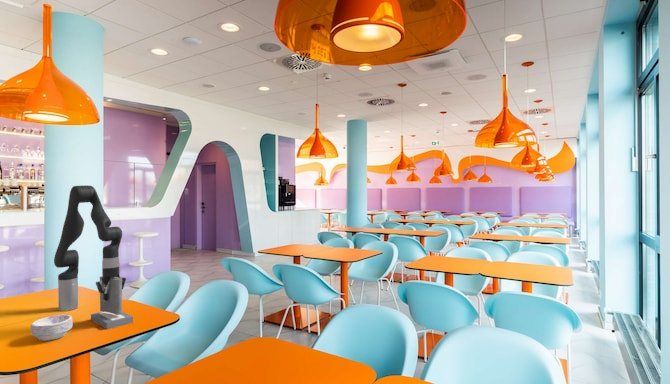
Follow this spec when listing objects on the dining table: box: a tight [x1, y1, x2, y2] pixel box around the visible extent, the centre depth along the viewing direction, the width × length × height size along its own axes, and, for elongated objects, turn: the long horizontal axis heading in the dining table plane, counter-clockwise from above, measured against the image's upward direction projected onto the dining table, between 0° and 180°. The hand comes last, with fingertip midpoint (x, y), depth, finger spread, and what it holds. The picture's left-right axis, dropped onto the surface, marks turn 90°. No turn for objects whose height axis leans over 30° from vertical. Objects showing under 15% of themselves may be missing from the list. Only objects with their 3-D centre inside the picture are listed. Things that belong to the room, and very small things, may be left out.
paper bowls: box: [30, 314, 73, 342], centre depth 176 cm, size 15×15×8 cm
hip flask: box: [99, 276, 123, 315], centre depth 197 cm, size 16×4×20 cm, turn 61°
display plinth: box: [90, 311, 134, 330], centre depth 197 cm, size 22×12×3 cm, turn 50°
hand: (111, 299), depth 197 cm, fingers closed on hip flask, 4 cm apart
